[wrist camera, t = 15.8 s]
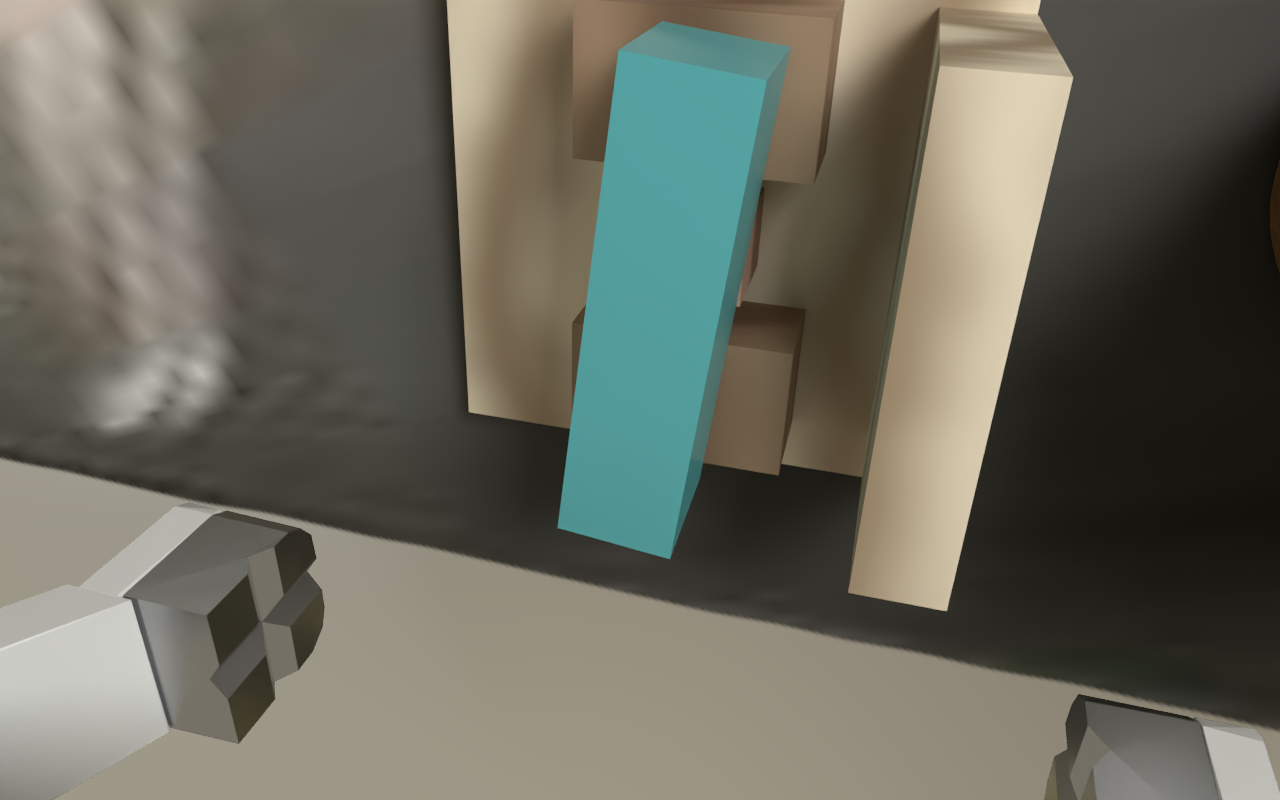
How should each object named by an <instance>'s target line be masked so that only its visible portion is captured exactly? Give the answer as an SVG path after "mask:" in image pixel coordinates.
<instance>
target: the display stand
mask: <svg viewBox="0 0 1280 800" xmlns="http://www.w3.org/2000/svg"><path fill="white" fill-rule="evenodd" d="M1040 1H1041V0H447V12H448V31H449V49H450V68H451V87H452V105H453V124H454V143H455V161H456V180H457V199H458V217H459V236H460V255H461V273H462V292H463V311H464V329H465V348H466V367H467V385H468V404H469V412H471V413H477V414H483V415H489V416H495V417H501V418H507V419H513V420H519V421H525V422H531V423H537V424H544V425H550V426H556V427H562V428H568V429H570V427H571V419H572V411H573V403H574V395H575V387H576V380H577V372H578V364H579V356H580V348H581V340H582V333H583V325H584V317H585V309H586V301H587V293H588V286H589V278H590V270H591V262H592V254H593V246H594V239H595V231H596V223H597V215H598V207H599V199H600V192H601V184H602V176H603V168H604V160H605V152H606V144H607V137H608V129H609V121H610V113H611V105H612V97H613V90H614V82H615V74H616V66H617V58H618V50H619V49H621V48H622V47H624V46H625V45H627V44H628V43H630V42H631V41H633V40H634V39H636V38H637V37H639V36H640V35H642V34H643V33H645V32H646V31H648V30H650V29H651V28H653V27H654V26H656V25H657V24H659V23H660V22H662V21H664V22H669V23H674V24H679V25H684V26H689V27H694V28H699V29H704V30H709V31H714V32H719V33H724V34H729V35H734V36H739V37H744V38H749V39H754V40H759V41H764V42H769V43H774V44H779V45H784V46H789V47H791V49H790V54H789V58H788V63H787V68H786V73H785V77H784V82H783V87H782V91H781V96H780V101H779V106H778V110H777V115H776V120H775V125H774V129H773V134H772V139H771V144H770V148H769V153H768V158H767V163H766V167H765V172H764V177H763V181H762V186H761V191H760V196H759V200H758V205H757V210H756V215H755V219H754V224H753V229H752V234H751V238H750V243H749V248H748V253H747V257H746V262H745V267H744V271H743V276H742V281H741V286H740V290H739V295H738V300H737V305H736V309H735V314H734V319H733V324H732V328H731V333H730V338H729V343H728V347H727V352H726V357H725V361H724V366H723V371H722V376H721V380H720V385H719V390H718V395H717V399H716V404H715V409H714V414H713V418H712V423H711V428H710V433H709V437H708V442H707V447H706V451H705V456H704V461H703V463H707V464H713V465H719V466H725V467H731V468H737V469H743V470H749V471H755V472H761V473H767V474H773V475H779V471H780V467H781V464H786V465H792V466H798V467H804V468H810V469H816V470H822V471H828V472H834V473H840V474H846V475H852V476H858V477H862V482H861V490H860V499H859V507H858V515H857V524H856V532H855V540H854V549H853V557H852V565H851V574H850V582H849V590H848V593H852V594H857V595H863V596H868V597H873V598H879V599H884V600H889V601H895V602H900V603H905V604H911V605H916V606H921V607H927V608H932V609H937V610H943V611H947V608H948V603H949V599H950V595H951V591H952V587H953V582H954V578H955V574H956V570H957V565H958V561H959V557H960V553H961V549H962V544H963V540H964V536H965V532H966V528H967V523H968V519H969V515H970V511H971V506H972V502H973V498H974V494H975V490H976V485H977V481H978V477H979V473H980V469H981V464H982V460H983V456H984V452H985V447H986V443H987V439H988V435H989V431H990V426H991V422H992V418H993V414H994V410H995V405H996V401H997V397H998V393H999V388H1000V384H1001V380H1002V376H1003V372H1004V367H1005V363H1006V359H1007V355H1008V351H1009V346H1010V342H1011V338H1012V334H1013V329H1014V325H1015V321H1016V317H1017V313H1018V308H1019V304H1020V300H1021V296H1022V292H1023V287H1024V283H1025V279H1026V275H1027V270H1028V266H1029V262H1030V258H1031V254H1032V249H1033V245H1034V241H1035V237H1036V232H1037V228H1038V224H1039V220H1040V216H1041V211H1042V207H1043V203H1044V199H1045V195H1046V190H1047V186H1048V182H1049V178H1050V173H1051V169H1052V165H1053V161H1054V157H1055V152H1056V148H1057V144H1058V140H1059V136H1060V131H1061V127H1062V123H1063V119H1064V114H1065V110H1066V106H1067V102H1068V98H1069V93H1070V89H1071V85H1072V81H1073V76H1072V74H1071V72H1070V70H1069V69H1068V67H1067V65H1066V63H1065V62H1064V60H1063V58H1062V56H1061V55H1060V53H1059V51H1058V49H1057V47H1056V46H1055V44H1054V42H1053V40H1052V39H1051V37H1050V35H1049V33H1048V32H1047V30H1046V28H1045V26H1044V24H1043V23H1042V21H1041V19H1040V17H1039V16H1038V10H1039V6H1040Z"/></svg>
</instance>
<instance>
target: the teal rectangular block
mask: <svg viewBox="0 0 1280 800" xmlns="http://www.w3.org/2000/svg"><path fill="white" fill-rule="evenodd" d="M790 49H791V47H789V46H784V45H779V44H774V43H769V42H764V41H759V40H754V39H749V38H744V37H739V36H734V35H729V34H724V33H719V32H714V31H709V30H704V29H699V28H694V27H689V26H684V25H679V24H674V23H669V22H664V21H662V22H660V23H659V24H657V25H656V26H654V27H653V28H651V29H650V30H648V31H646V32H645V33H643V34H642V35H640V36H639V37H637V38H636V39H634V40H633V41H631V42H630V43H628V44H627V45H625V46H624V47H622V48H621V49H619V50H618V58H617V66H616V74H615V82H614V90H613V97H612V105H611V113H610V121H609V129H608V137H607V144H606V152H605V160H604V168H603V176H602V184H601V192H600V199H599V207H598V215H597V223H596V231H595V239H594V246H593V254H592V262H591V270H590V278H589V286H588V293H587V301H586V309H585V317H584V325H583V333H582V340H581V348H580V356H579V364H578V372H577V380H576V387H575V395H574V403H573V411H572V419H571V427H570V434H569V442H568V450H567V458H566V466H565V474H564V481H563V489H562V497H561V505H560V513H559V521H558V528H560V529H564V530H567V531H571V532H574V533H578V534H582V535H585V536H589V537H592V538H596V539H599V540H603V541H607V542H610V543H614V544H617V545H621V546H624V547H628V548H632V549H635V550H639V551H642V552H646V553H650V554H653V555H657V556H660V557H664V558H667V559H670V558H671V555H672V552H673V550H674V547H675V544H676V542H677V539H678V536H679V534H680V531H681V528H682V525H683V523H684V520H685V517H686V515H687V512H688V509H689V507H690V504H691V501H692V499H693V496H694V493H695V491H696V488H697V485H698V483H699V480H700V475H701V470H702V466H703V461H704V456H705V451H706V447H707V442H708V437H709V433H710V428H711V423H712V418H713V414H714V409H715V404H716V399H717V395H718V390H719V385H720V380H721V376H722V371H723V366H724V361H725V357H726V352H727V347H728V343H729V338H730V333H731V328H732V324H733V319H734V314H735V309H736V305H737V300H738V295H739V290H740V286H741V281H742V276H743V271H744V267H745V262H746V257H747V253H748V248H749V243H750V238H751V234H752V229H753V224H754V219H755V215H756V210H757V205H758V200H759V196H760V191H761V186H762V181H763V177H764V172H765V167H766V163H767V158H768V153H769V148H770V144H771V139H772V134H773V129H774V125H775V120H776V115H777V110H778V106H779V101H780V96H781V91H782V87H783V82H784V77H785V73H786V68H787V63H788V58H789V54H790Z"/></svg>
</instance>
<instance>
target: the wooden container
mask: <svg viewBox="0 0 1280 800" xmlns="http://www.w3.org/2000/svg"><path fill="white" fill-rule="evenodd" d="M1270 233H1271V241H1272V247H1273V252H1274V257H1275V261H1276V265H1277V268H1278V271H1279V274H1280V159H1279V163H1278V166H1277V170H1276V174H1275V178H1274V183H1273V187H1272V193H1271V202H1270Z"/></svg>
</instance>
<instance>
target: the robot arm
mask: <svg viewBox="0 0 1280 800" xmlns="http://www.w3.org/2000/svg"><path fill="white" fill-rule="evenodd" d="M315 560H316V555H315V550H314V546H313V542H312V537H311V535H310V534H309V533H307V532H305V531H304V530H302V529H300V528H296V527H292V526H288V525H284V524H280V523H276V522H271V521H267V520H263V519H259V518H255V517H250V516H247V515H242V514H238V513H234V512H230V511H221V510H217V509H213V508H209V507H205V506H201V505H197V504H193V503H186V504H182V505H178V506H175V507H174V508H172V509H171V510H170V511H169V512H167V513H166V514H165V515H164V516H163V517H161V519H159V520H158V521H157V522H156V523H155V524H153V525H152V526H151V527H150V528H148V529H147V530H146V531H145V532H144V533H142V534H141V535H140V536H139V537H138V538H137V539H135V540H134V541H133V542H132V543H130V545H128V546H127V547H126V548H125V549H123V550H122V551H121V552H120V553H119V554H117V555H116V556H115V557H114V558H113V559H111V560H110V561H109V562H108V563H107V564H106V565H104V566H103V567H102V568H101V569H100V570H98V571H97V572H96V573H95V574H94V575H92V576H91V577H90V578H89V579H88V580H87V581H85V582H84V583H83V584H82V585H81V586H79V587H76V586H72V585H68V584H66V585H64V586H61V587H58V588H55V589H53V590H50V591H47V592H44V593H41V594H38V595H36V596H32V597H30V598H27V599H24V600H21V601H19V602H16V603H13V604H10V605H7V606H4V607H1V608H0V800H53V799H55V798H57V797H59V796H60V795H62V794H64V793H65V792H67V791H69V790H71V789H72V788H74V787H76V786H77V785H79V784H81V783H83V782H84V781H86V780H88V779H89V778H91V777H93V776H95V775H96V774H98V773H100V772H101V771H103V770H105V769H107V768H108V767H110V766H112V765H113V764H115V763H117V762H118V761H120V760H122V759H124V758H125V757H127V756H129V755H131V754H132V753H134V752H136V751H137V750H139V749H141V748H143V747H144V746H146V745H148V744H149V743H151V742H153V741H155V740H156V739H158V738H160V737H161V736H163V735H165V734H167V733H168V732H169V731H170V729H169V727H170V728H175V729H179V730H183V731H187V732H192V733H195V734H200V735H204V736H208V737H213V738H217V739H221V740H225V741H229V742H233V743H238V744H239V743H240V741H241V740H242V739H243V738H244V737H245V736H246V734H247V733H248V732H249V731H250V729H251V728H252V727H253V726H254V724H255V723H256V722H257V721H258V720H259V718H260V717H261V716H262V715H263V713H264V712H265V711H266V710H267V708H268V707H269V706H270V705H271V703H272V702H273V701H274V700H275V687H274V686H275V684H274V682H275V681H277V680H279V679H281V678H283V677H285V676H287V675H289V674H291V673H293V672H296V671H298V670H299V669H300V667H301V666H302V665H303V663H304V662H305V661H306V659H307V658H308V657H309V656H310V654H311V653H312V651H313V650H314V647H315V645H316V642H317V640H318V637H319V634H320V632H321V630H322V627H323V617H324V602H323V595H322V589H321V588H320V587H319V586H318V584H317V583H316V582H315V581H314V579H313V578H312V577H311V576H310V574H309V573H308V572H307V570H308V569H309V568H310V566H311V565H312V564H313V562H314V561H315ZM1066 737H1067V750H1066V751H1063V752H1062V753H1060V754H1058V755H1056V756H1055V757H1054V760H1053V764H1052V767H1051V771H1050V774H1049V778H1048V781H1047V787H1046V794H1045V799H1044V800H1280V790H1279V787H1278V784H1277V781H1276V778H1275V774H1274V771H1273V768H1272V765H1271V762H1270V758H1269V755H1268V752H1267V749H1266V746H1265V743H1264V739H1263V738H1262V737H1261V736H1260V735H1259V733H1258V732H1257V731H1256V730H1255V729H1252V728H1247V727H1242V726H1236V725H1232V724H1226V723H1221V722H1216V721H1211V720H1206V719H1200V718H1196V717H1195V718H1193V719H1192V718H1190V717H1187V716H1183V715H1178V714H1173V713H1168V712H1163V711H1158V710H1153V709H1148V708H1144V707H1139V706H1134V705H1129V704H1124V703H1119V702H1114V701H1110V700H1105V699H1100V698H1095V697H1090V696H1085V695H1080V694H1078V696H1077V697H1076V699H1075V700H1074V702H1073V704H1072V706H1071V708H1070V711H1069V714H1068V717H1067V720H1066Z"/></svg>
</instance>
